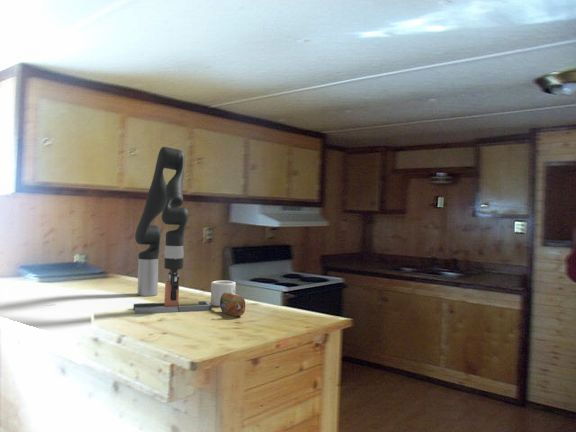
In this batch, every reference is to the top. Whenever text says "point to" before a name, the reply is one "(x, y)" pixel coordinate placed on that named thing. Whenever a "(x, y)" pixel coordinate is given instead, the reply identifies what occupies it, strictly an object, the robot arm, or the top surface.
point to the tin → (232, 304)
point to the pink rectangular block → (168, 295)
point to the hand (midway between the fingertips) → (172, 299)
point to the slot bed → (153, 308)
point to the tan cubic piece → (183, 302)
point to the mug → (221, 290)
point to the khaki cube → (192, 302)
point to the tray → (196, 307)
